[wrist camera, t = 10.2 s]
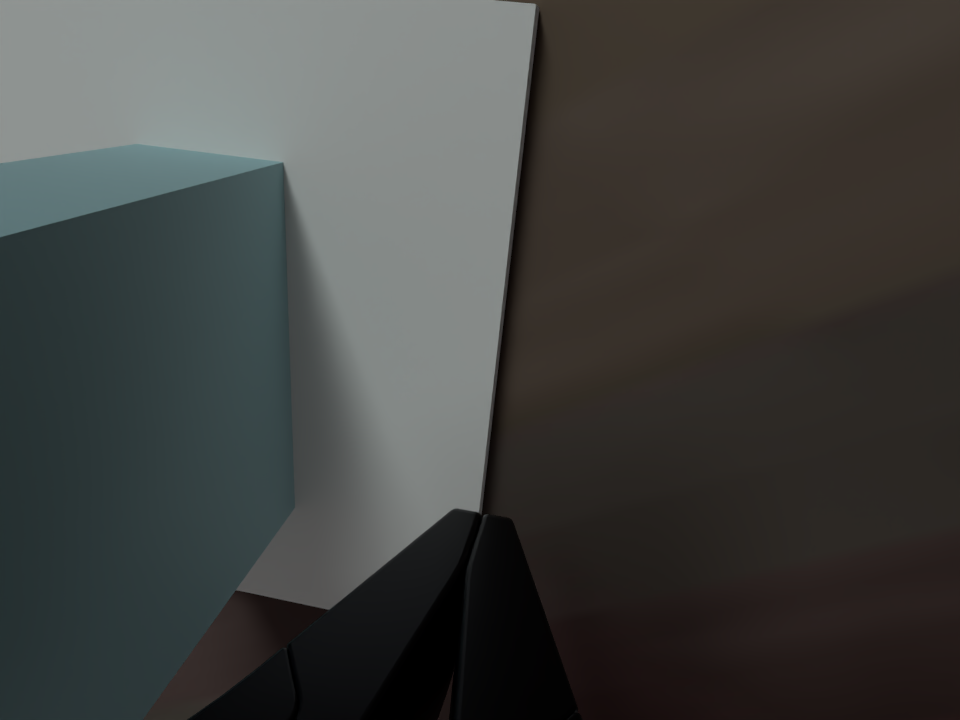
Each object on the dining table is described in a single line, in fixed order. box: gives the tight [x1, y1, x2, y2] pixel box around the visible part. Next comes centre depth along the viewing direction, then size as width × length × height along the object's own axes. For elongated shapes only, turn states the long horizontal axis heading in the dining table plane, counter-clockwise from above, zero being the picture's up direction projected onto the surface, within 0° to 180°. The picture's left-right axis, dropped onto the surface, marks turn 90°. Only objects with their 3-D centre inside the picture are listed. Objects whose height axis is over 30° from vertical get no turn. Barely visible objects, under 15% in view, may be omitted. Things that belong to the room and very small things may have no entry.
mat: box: [0, 0, 539, 610], centre depth 15 cm, size 17×14×1 cm
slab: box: [0, 144, 295, 720], centre depth 10 cm, size 3×8×9 cm, turn 174°
